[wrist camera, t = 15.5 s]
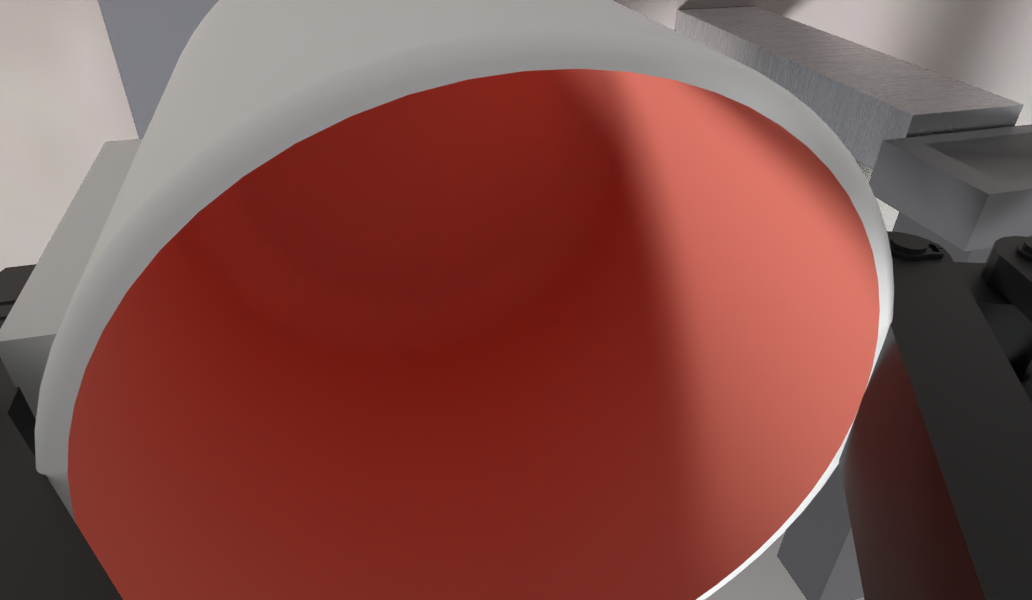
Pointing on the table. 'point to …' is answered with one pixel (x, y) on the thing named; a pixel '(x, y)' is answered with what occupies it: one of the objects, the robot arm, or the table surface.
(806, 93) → the posts
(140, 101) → the mat
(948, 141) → the bar
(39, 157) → the table surface
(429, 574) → the cup
